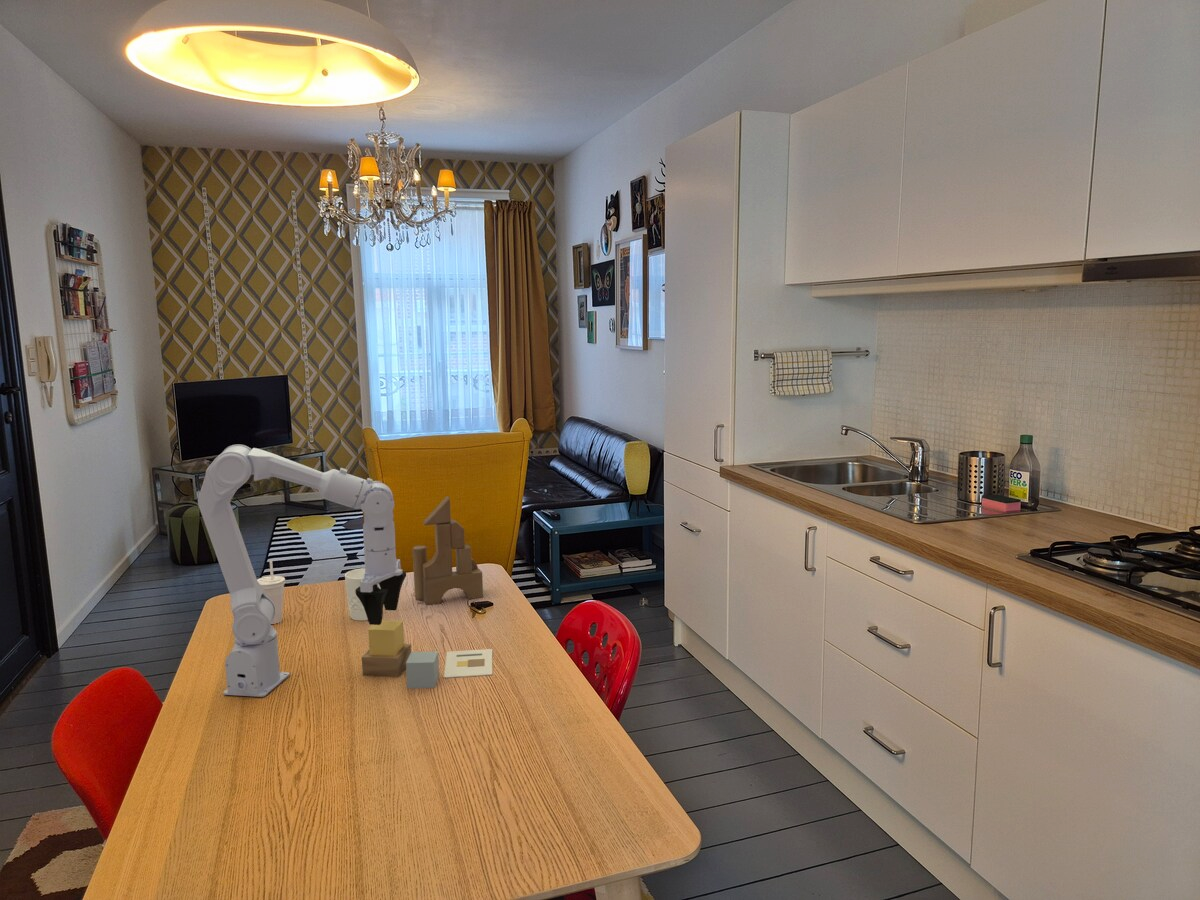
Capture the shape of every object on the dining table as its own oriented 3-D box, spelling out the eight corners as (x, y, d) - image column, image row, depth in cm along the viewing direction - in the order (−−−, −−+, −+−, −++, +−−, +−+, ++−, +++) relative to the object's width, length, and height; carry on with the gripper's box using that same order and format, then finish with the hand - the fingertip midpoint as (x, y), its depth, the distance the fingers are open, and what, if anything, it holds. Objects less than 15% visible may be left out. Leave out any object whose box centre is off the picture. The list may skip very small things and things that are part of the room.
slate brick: (435, 688, 149) (433, 662, 149) (407, 689, 149) (406, 663, 148) (439, 676, 154) (438, 651, 154) (412, 677, 154) (411, 651, 153)
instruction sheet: (492, 675, 154) (492, 673, 154) (443, 678, 153) (443, 676, 153) (492, 649, 166) (492, 648, 166) (447, 652, 165) (447, 651, 165)
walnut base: (398, 678, 154) (397, 658, 153) (362, 677, 155) (361, 657, 154) (411, 663, 161) (410, 644, 160) (377, 661, 162) (376, 642, 161)
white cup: (340, 620, 184) (337, 576, 182) (360, 608, 191) (357, 566, 190) (371, 623, 181) (368, 579, 180) (389, 611, 189) (387, 569, 187)
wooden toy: (476, 589, 204) (473, 490, 200) (483, 597, 198) (480, 496, 194) (413, 597, 198) (409, 496, 194) (418, 606, 192) (413, 501, 188)
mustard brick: (395, 655, 155) (394, 630, 154) (369, 654, 155) (368, 629, 154) (404, 645, 160) (403, 620, 159) (379, 644, 160) (377, 620, 159)
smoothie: (281, 627, 180) (276, 565, 178) (252, 627, 180) (247, 565, 178) (292, 616, 186) (288, 556, 184) (264, 616, 186) (260, 557, 184)
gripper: (385, 559, 146) (388, 631, 149) (414, 537, 161) (417, 604, 163) (347, 558, 147) (351, 630, 150) (379, 536, 162) (382, 603, 164)
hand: (383, 616), depth 156 cm, fingers open, 7 cm apart
